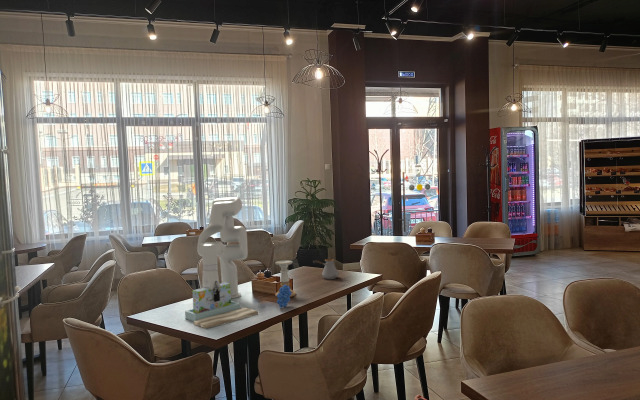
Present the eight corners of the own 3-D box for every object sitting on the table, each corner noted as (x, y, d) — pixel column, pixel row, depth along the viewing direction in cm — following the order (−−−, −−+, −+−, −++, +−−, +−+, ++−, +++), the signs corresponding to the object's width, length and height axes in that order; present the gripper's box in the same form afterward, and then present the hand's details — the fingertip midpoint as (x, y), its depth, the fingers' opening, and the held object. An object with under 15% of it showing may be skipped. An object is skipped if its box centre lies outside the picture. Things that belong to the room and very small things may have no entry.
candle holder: (298, 296, 272) (296, 262, 271) (277, 298, 268) (275, 264, 268) (293, 291, 284) (291, 259, 283) (273, 294, 280) (271, 261, 279)
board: (193, 324, 227) (193, 321, 227) (244, 310, 248) (244, 307, 248) (206, 328, 218) (205, 325, 218) (257, 314, 239) (257, 311, 239)
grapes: (285, 303, 257) (284, 282, 257) (294, 304, 253) (293, 283, 253) (271, 308, 248) (270, 286, 247) (281, 310, 244) (280, 287, 243)
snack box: (200, 320, 232) (198, 291, 232) (193, 319, 236) (191, 290, 235) (232, 310, 249) (230, 282, 249) (225, 308, 253) (223, 281, 252)
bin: (185, 318, 238) (184, 310, 237) (228, 307, 255) (228, 300, 255) (195, 322, 230) (195, 314, 229) (240, 310, 247) (239, 303, 247)
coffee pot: (329, 275, 326) (328, 254, 325) (342, 277, 318) (341, 255, 318) (308, 281, 310) (307, 259, 310) (321, 283, 302) (320, 260, 302)
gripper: (195, 267, 245) (197, 299, 245) (212, 270, 233) (214, 303, 233) (208, 265, 250) (210, 296, 251) (225, 267, 238) (227, 300, 238)
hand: (212, 300), depth 242 cm, fingers open, 9 cm apart
